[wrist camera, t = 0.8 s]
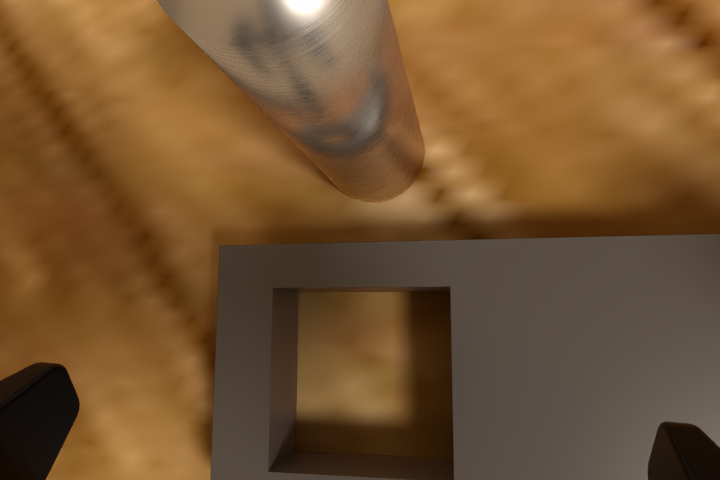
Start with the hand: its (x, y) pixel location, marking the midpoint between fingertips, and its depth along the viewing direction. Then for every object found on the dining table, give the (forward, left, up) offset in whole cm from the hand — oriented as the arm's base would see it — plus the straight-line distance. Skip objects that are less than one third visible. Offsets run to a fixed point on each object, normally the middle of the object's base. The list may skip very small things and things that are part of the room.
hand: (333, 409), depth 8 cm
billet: (+7, +5, -13) cm, 15 cm away
